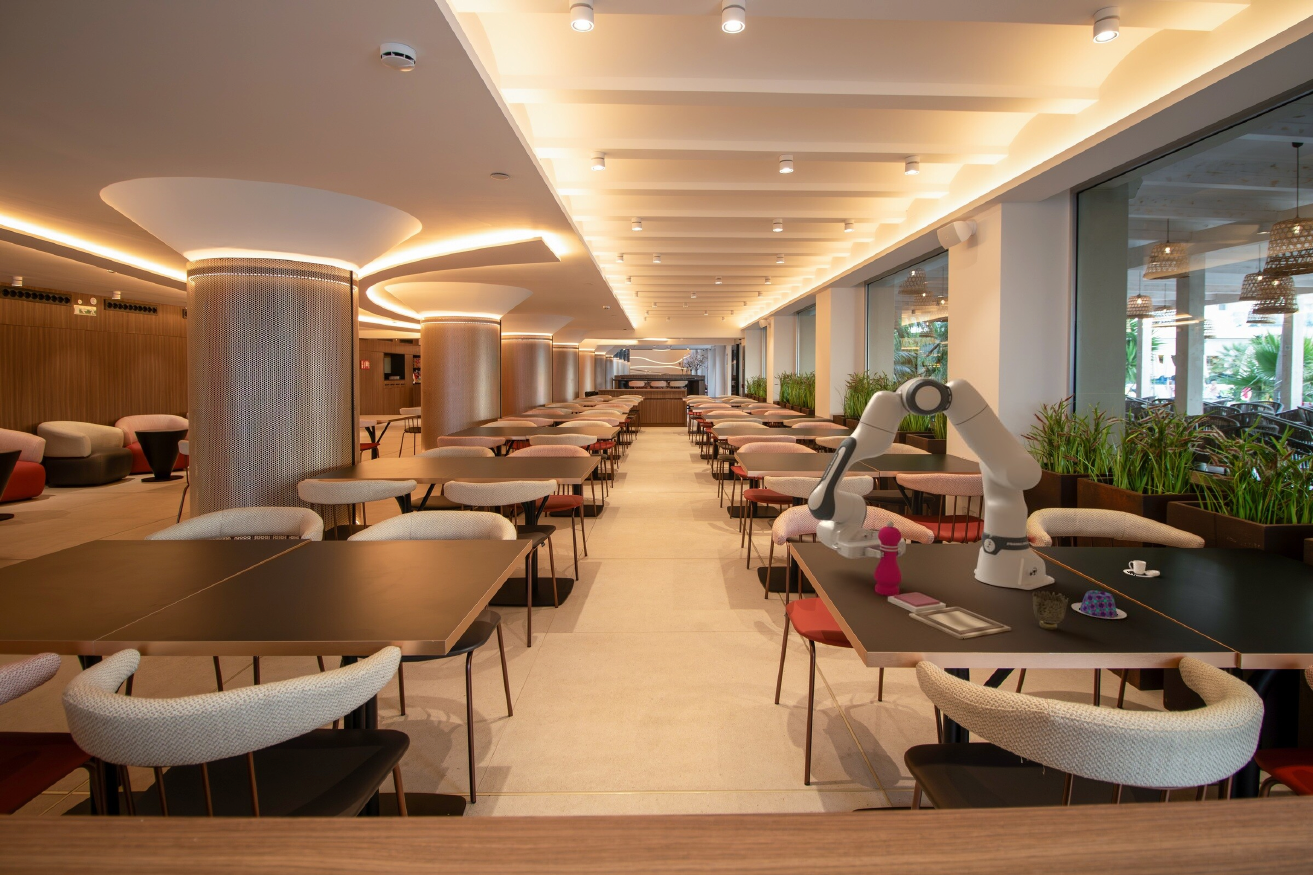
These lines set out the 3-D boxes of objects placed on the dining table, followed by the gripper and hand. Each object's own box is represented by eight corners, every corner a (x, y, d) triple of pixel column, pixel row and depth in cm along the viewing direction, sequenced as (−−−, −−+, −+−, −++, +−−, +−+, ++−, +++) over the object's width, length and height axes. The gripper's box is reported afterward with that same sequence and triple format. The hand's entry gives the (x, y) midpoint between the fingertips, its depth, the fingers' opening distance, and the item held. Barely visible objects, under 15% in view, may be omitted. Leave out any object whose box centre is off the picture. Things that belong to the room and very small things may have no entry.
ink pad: (916, 597, 186) (917, 590, 186) (945, 608, 177) (945, 602, 177) (887, 601, 182) (888, 594, 182) (915, 613, 173) (915, 606, 173)
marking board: (957, 608, 177) (957, 605, 177) (1010, 630, 162) (1010, 627, 162) (909, 616, 171) (909, 613, 171) (959, 639, 156) (960, 635, 156)
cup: (1071, 634, 160) (1073, 601, 159) (1036, 632, 162) (1038, 598, 161) (1059, 623, 167) (1061, 591, 167) (1026, 621, 169) (1028, 589, 168)
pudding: (1098, 604, 184) (1099, 585, 183) (1138, 620, 172) (1140, 599, 171) (1060, 606, 181) (1061, 587, 181) (1098, 623, 169) (1099, 602, 169)
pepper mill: (902, 590, 191) (905, 520, 190) (899, 598, 185) (903, 525, 183) (875, 586, 194) (878, 517, 193) (871, 594, 188) (874, 522, 186)
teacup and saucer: (1163, 577, 210) (1164, 564, 210) (1146, 580, 207) (1147, 567, 207) (1134, 570, 218) (1135, 557, 218) (1117, 572, 215) (1118, 559, 215)
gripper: (829, 534, 196) (860, 545, 184) (885, 529, 204) (920, 539, 191) (828, 556, 197) (859, 568, 184) (884, 550, 205) (918, 562, 192)
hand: (891, 554), depth 188 cm, fingers closed on pepper mill, 5 cm apart
